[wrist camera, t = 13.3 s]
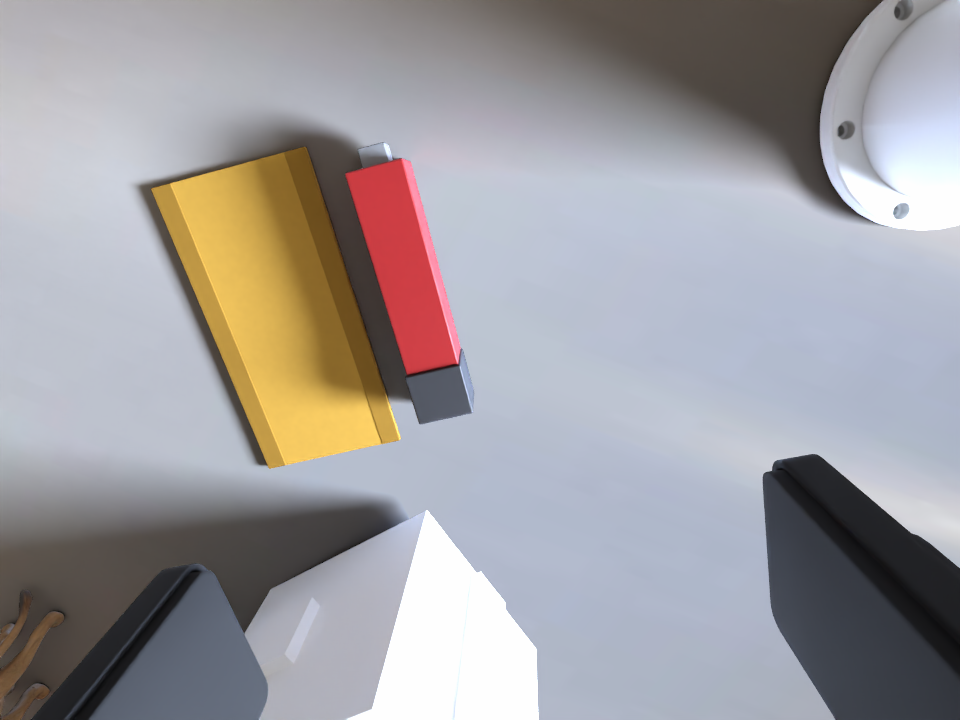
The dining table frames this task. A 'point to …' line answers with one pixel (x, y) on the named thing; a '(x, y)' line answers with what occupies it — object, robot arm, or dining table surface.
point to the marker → (411, 284)
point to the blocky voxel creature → (393, 637)
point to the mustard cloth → (280, 306)
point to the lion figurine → (23, 657)
